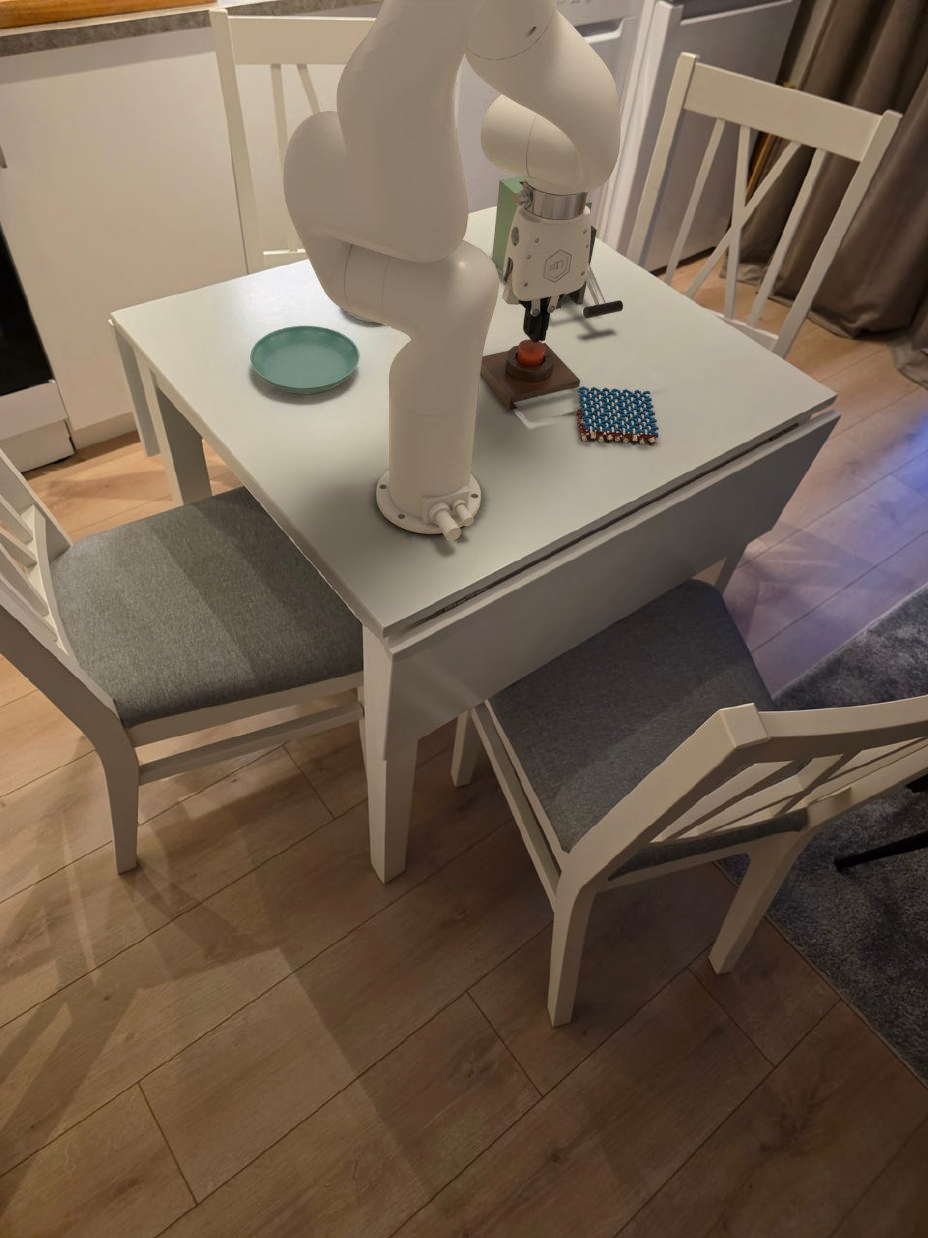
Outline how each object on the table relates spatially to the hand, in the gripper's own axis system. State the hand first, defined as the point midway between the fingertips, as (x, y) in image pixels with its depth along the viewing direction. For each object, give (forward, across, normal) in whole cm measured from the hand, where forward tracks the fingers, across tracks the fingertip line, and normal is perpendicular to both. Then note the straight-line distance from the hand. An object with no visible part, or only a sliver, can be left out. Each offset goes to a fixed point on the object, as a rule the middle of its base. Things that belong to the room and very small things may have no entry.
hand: (534, 336), depth 111 cm
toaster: (+7, +15, +25) cm, 30 cm away
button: (+3, 0, 0) cm, 3 cm away
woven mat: (+7, +7, -12) cm, 16 cm away
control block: (+7, 0, 0) cm, 7 cm away
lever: (0, +15, +11) cm, 19 cm away
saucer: (+7, -28, +13) cm, 32 cm away
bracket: (+7, +15, +16) cm, 23 cm away
